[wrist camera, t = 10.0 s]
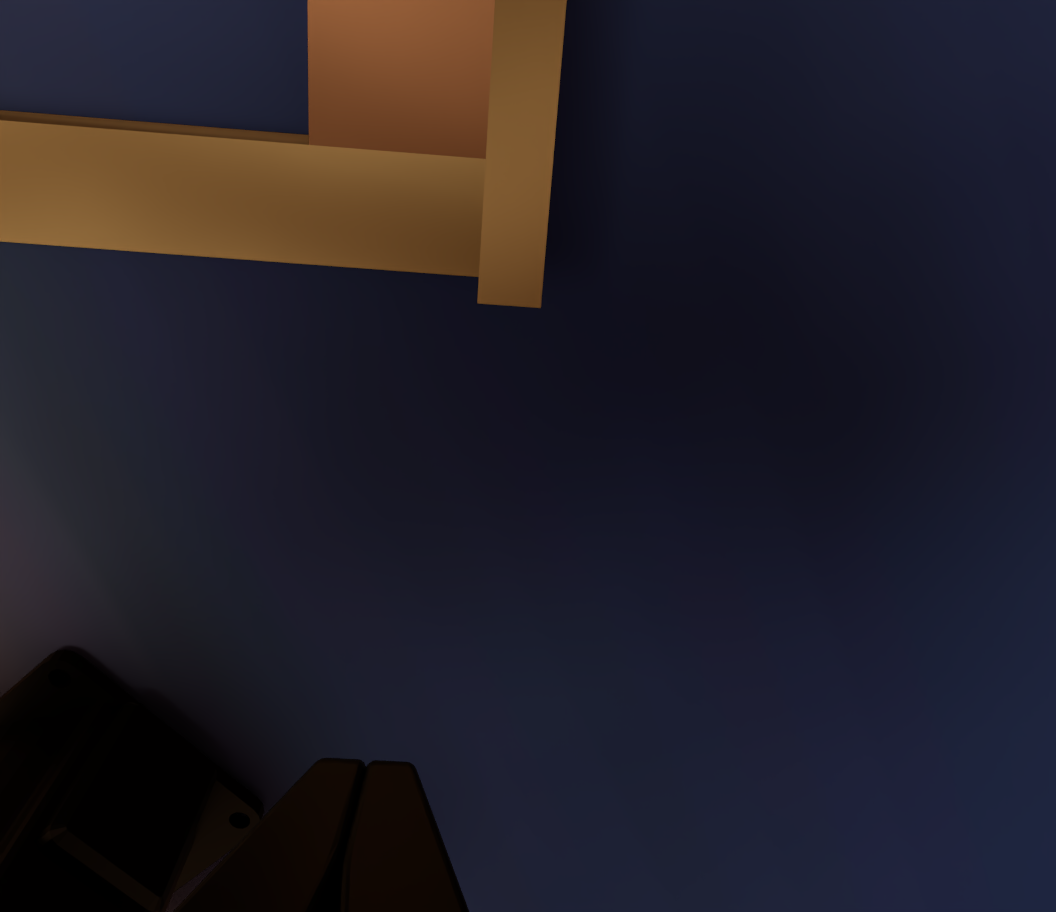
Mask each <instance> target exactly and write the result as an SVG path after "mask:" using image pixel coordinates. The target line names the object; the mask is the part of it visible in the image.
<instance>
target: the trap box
mask: <svg viewBox="0 0 1056 912" xmlns="http://www.w3.org/2000/svg"><path fill="white" fill-rule="evenodd" d="M566 2H567V0H308V93H309V135H303V134H290V133H278V132H265V131H253V130H241V129H228V128H216V127H203V126H191V125H178V124H166V123H153V122H141V121H128V120H116V119H103V118H91V117H79V116H66V115H54V114H41V113H29V112H16V111H4V110H0V241H2V242H15V243H29V244H42V245H56V246H69V247H83V248H96V249H110V250H123V251H137V252H150V253H163V254H177V255H190V256H204V257H217V258H231V259H244V260H258V261H271V262H285V263H298V264H311V265H325V266H338V267H352V268H365V269H379V270H392V271H406V272H419V273H432V274H446V275H459V276H473V277H479V283H478V300H477V303H480V304H493V305H507V306H521V307H534V308H541V299H542V287H543V275H544V263H545V251H546V239H547V228H548V216H549V204H550V192H551V180H552V168H553V156H554V145H555V133H556V121H557V109H558V97H559V85H560V73H561V61H562V50H563V38H564V26H565V14H566Z"/></svg>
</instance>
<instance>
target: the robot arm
mask: <svg viewBox="0 0 1056 912" xmlns="http://www.w3.org/2000/svg"><path fill="white" fill-rule="evenodd" d="M57 669H61V670H63V671H65V672H67V673H68V674H69V675H70V677H64V676H62V675H60V674H59V673H58V671H57ZM236 812H240V813H244V814H246V815H247V817H244V816H240V815H238V814H236ZM263 813H264V807H263V804H262V802H261V801H260V800H259V799H258V798H257V797H256V796H255V795H253V794H252V793H251V792H250V791H248V790H247V789H246V788H245V787H243V786H242V785H241V784H240V783H238V782H237V781H236V780H235V779H233V778H232V777H231V776H230V775H228V774H227V773H226V772H225V771H224V770H222V769H221V768H220V767H219V766H217V765H216V764H215V763H214V762H212V761H211V760H210V759H209V758H207V757H206V756H205V755H204V754H202V753H201V752H200V751H199V750H197V749H196V748H195V747H194V746H192V745H191V744H190V743H189V742H187V741H186V740H185V739H184V738H182V737H181V736H180V735H179V734H178V733H176V732H175V731H174V730H173V729H171V728H170V727H169V726H168V725H166V724H165V723H164V722H163V721H161V720H160V719H159V718H158V717H156V716H155V715H154V714H153V713H151V712H150V711H149V710H148V709H146V708H145V707H144V706H143V705H141V704H140V703H139V702H138V701H136V700H135V699H134V698H133V697H132V696H130V695H129V694H128V693H127V692H125V691H124V690H123V689H122V688H120V687H119V686H118V685H117V684H115V683H114V682H113V681H112V680H110V679H109V678H108V677H107V676H105V675H104V674H103V673H102V672H100V671H99V670H98V669H97V668H95V667H94V666H93V665H92V664H90V663H89V662H88V661H87V660H86V659H84V658H83V657H82V656H80V655H78V654H77V653H75V652H72V651H68V650H60V651H56V652H54V653H52V654H50V655H49V656H48V657H47V658H45V659H44V660H43V661H42V662H41V663H40V664H38V665H37V666H36V667H35V668H34V669H33V670H32V671H30V672H29V673H28V674H27V675H26V676H25V677H23V678H22V679H21V680H20V681H19V682H18V683H17V684H15V685H14V686H13V687H12V688H11V689H10V690H8V691H7V692H6V693H5V694H4V695H3V696H2V697H0V912H165V911H166V909H167V906H168V904H169V901H170V899H171V897H172V894H173V892H175V891H176V890H178V889H179V888H180V887H182V886H183V885H184V884H186V883H187V882H188V881H190V880H191V879H192V878H194V877H195V876H196V875H198V874H199V873H201V872H202V871H203V870H205V869H206V868H207V867H209V866H210V865H211V864H213V863H214V862H215V861H217V860H218V859H219V858H221V857H222V856H223V855H225V854H226V853H228V852H229V851H230V850H231V851H230V852H229V853H228V854H227V856H226V857H225V858H224V859H223V860H222V861H221V862H220V863H219V864H218V865H217V866H216V867H215V868H214V869H213V870H212V871H211V872H210V873H209V874H208V875H207V877H206V878H205V879H204V880H203V881H202V882H201V883H200V884H199V885H198V886H197V887H196V888H195V889H194V890H193V891H192V892H191V893H190V894H189V895H188V896H187V898H186V899H185V900H184V901H183V902H182V903H181V904H180V905H179V906H178V907H177V908H176V909H175V910H174V911H173V912H469V910H468V907H467V904H466V901H465V899H464V896H463V893H462V891H461V888H460V885H459V883H458V880H457V877H456V875H455V872H454V869H453V867H452V864H451V861H450V858H449V856H448V853H447V850H446V848H445V845H444V842H443V840H442V837H441V834H440V832H439V829H438V826H437V823H436V821H435V818H434V815H433V813H432V810H431V807H430V805H429V802H428V799H427V797H426V794H425V791H424V789H423V786H422V783H421V780H420V778H419V775H418V772H417V770H416V768H415V767H414V765H413V764H411V763H410V762H399V761H380V760H375V761H372V762H370V763H369V764H368V765H367V767H366V766H365V764H364V762H363V761H361V760H358V759H340V758H322V759H320V760H318V761H316V762H315V763H314V764H313V765H312V766H311V767H310V768H309V769H308V771H307V772H306V773H305V774H304V775H303V776H302V777H301V778H300V779H299V780H298V781H297V782H296V783H295V784H294V785H293V786H292V787H291V788H290V789H289V790H288V792H287V793H286V794H285V795H284V796H283V797H282V798H281V799H280V800H279V801H278V802H277V803H276V804H275V805H274V806H273V807H272V808H271V809H270V810H269V811H268V813H267V814H266V815H265V816H264V817H263ZM262 817H263V818H262Z"/></svg>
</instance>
